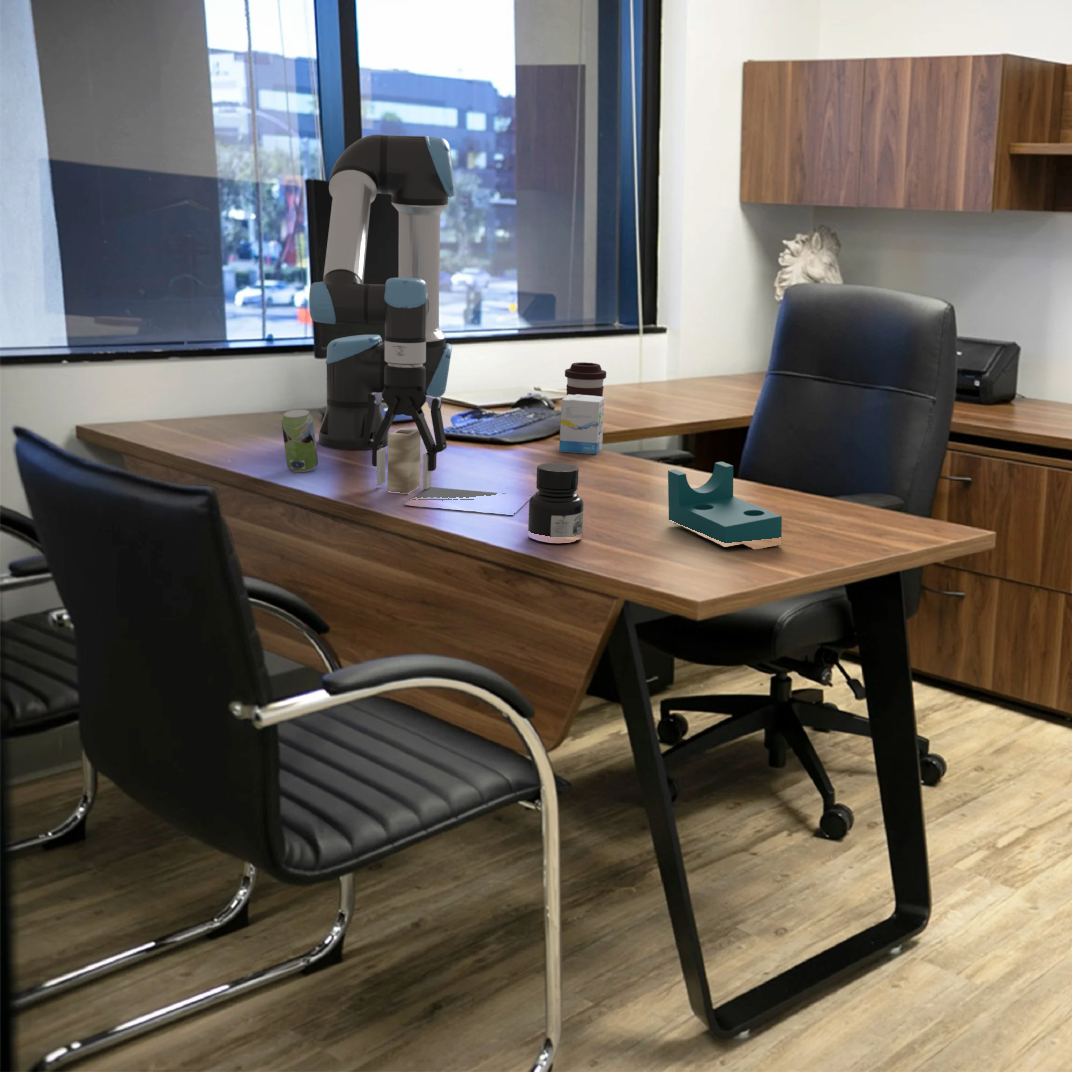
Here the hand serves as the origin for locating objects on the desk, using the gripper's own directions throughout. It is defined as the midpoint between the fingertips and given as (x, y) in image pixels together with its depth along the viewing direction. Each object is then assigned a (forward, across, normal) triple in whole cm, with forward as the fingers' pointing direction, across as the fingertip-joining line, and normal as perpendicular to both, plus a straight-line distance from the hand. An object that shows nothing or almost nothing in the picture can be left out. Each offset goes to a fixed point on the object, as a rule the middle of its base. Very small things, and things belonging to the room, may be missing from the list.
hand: (403, 485), depth 245 cm
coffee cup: (+1, +19, +80) cm, 82 cm away
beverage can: (+1, -24, +8) cm, 25 cm away
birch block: (+1, 0, 0) cm, 1 cm away
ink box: (+1, +24, +51) cm, 56 cm away
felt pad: (+1, +14, -5) cm, 15 cm away
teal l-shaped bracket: (+1, +61, -12) cm, 62 cm away
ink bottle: (+1, +34, -24) cm, 42 cm away
